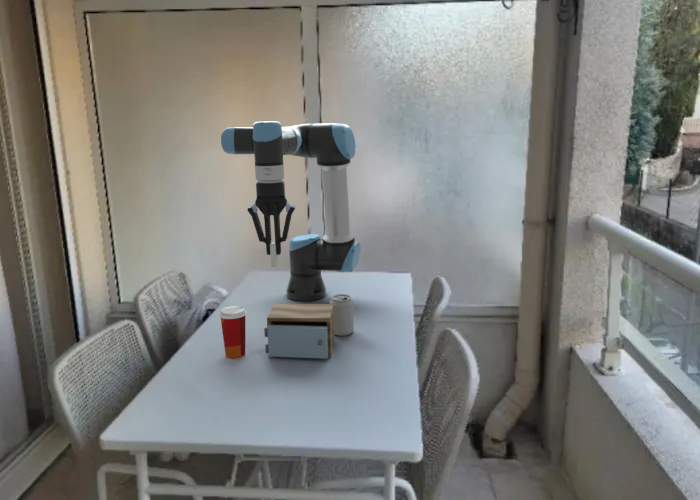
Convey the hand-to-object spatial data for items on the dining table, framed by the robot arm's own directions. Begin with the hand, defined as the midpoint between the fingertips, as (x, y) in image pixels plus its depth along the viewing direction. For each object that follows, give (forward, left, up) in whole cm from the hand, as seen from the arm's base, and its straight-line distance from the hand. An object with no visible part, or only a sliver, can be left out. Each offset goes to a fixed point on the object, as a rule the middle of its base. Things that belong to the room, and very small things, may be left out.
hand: (274, 265), depth 157 cm
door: (+2, +5, -26) cm, 27 cm away
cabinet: (-6, +6, -27) cm, 29 cm away
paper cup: (-1, -13, -28) cm, 30 cm away
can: (-19, +17, -28) cm, 38 cm away
